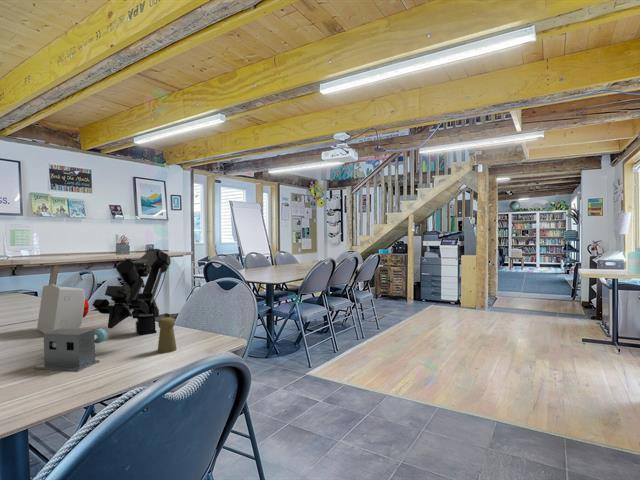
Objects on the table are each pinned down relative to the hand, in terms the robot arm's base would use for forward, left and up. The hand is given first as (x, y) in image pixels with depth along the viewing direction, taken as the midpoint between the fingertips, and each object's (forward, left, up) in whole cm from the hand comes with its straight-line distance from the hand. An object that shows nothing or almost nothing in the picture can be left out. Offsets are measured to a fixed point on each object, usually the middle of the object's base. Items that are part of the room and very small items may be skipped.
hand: (109, 327), depth 126 cm
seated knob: (+12, +4, -4) cm, 14 cm away
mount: (+11, +7, -8) cm, 16 cm away
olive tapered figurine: (-16, +11, -8) cm, 21 cm away
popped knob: (+5, +5, -4) cm, 8 cm away
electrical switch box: (+11, -46, -8) cm, 48 cm away
